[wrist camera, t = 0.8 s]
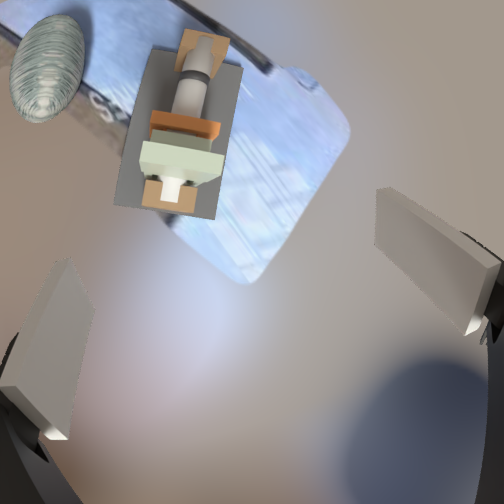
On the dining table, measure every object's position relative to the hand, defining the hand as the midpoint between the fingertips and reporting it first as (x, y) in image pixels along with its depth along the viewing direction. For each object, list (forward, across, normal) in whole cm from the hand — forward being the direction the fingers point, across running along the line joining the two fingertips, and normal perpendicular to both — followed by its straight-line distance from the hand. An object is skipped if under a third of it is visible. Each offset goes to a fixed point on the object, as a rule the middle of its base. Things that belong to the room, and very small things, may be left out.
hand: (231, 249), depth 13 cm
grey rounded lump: (+30, -17, +13) cm, 37 cm away
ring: (+24, -2, +1) cm, 24 cm away
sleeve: (+23, -3, -1) cm, 23 cm away
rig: (+28, -2, +2) cm, 29 cm away
